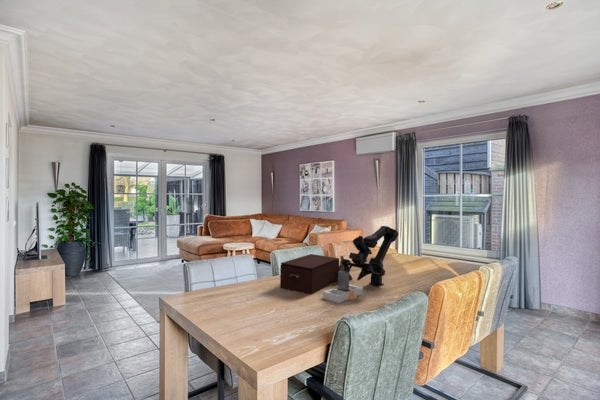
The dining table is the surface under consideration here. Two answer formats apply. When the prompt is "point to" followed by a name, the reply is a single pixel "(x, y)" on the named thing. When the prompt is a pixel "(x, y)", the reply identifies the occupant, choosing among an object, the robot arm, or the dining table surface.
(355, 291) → the frame
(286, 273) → the storage box
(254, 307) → the dining table surface
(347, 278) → the graphite panel
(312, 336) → the dining table surface
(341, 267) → the brown carved statuette
